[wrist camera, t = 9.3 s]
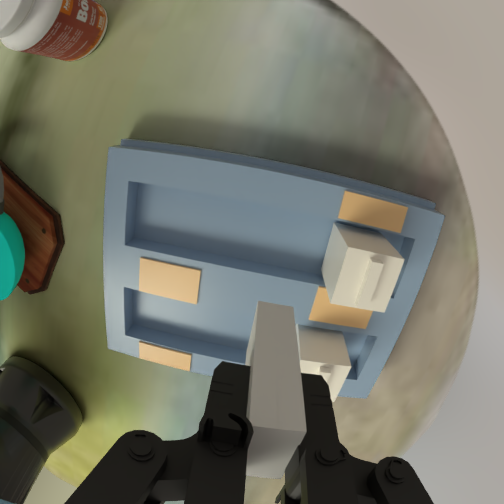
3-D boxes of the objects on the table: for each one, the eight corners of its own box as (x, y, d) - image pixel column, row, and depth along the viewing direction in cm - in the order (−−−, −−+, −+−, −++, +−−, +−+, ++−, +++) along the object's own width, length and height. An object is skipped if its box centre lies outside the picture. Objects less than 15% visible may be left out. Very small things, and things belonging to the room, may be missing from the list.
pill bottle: (121, 29, 21) (44, -9, 11) (71, 75, 22) (-15, 64, 12) (93, -8, 19) (21, -47, 9) (48, 35, 21) (-32, 18, 11)
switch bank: (120, 334, 32) (107, 353, 29) (127, 138, 24) (108, 140, 21) (359, 381, 32) (364, 403, 28) (430, 200, 24) (448, 210, 21)
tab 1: (286, 354, 29) (287, 401, 23) (297, 319, 28) (300, 365, 22) (327, 360, 29) (335, 406, 23) (340, 326, 28) (352, 371, 22)
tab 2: (320, 269, 26) (331, 308, 20) (333, 222, 24) (349, 250, 19) (366, 278, 26) (386, 317, 20) (380, 233, 24) (407, 263, 19)
